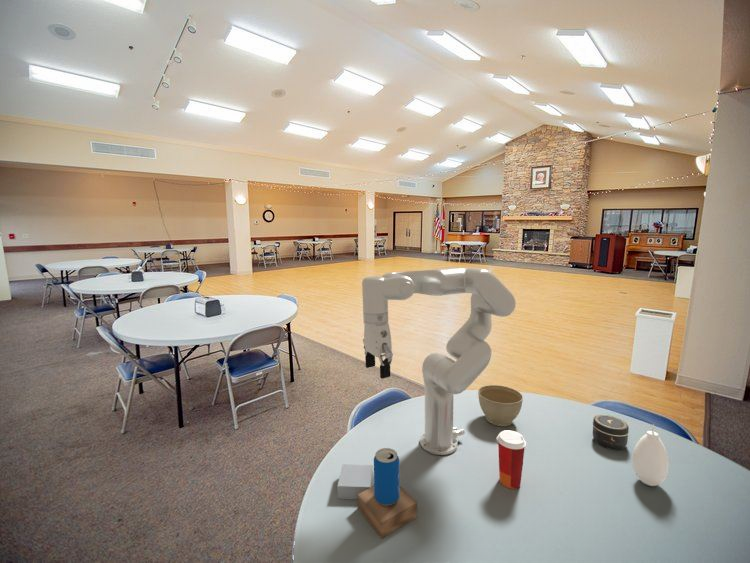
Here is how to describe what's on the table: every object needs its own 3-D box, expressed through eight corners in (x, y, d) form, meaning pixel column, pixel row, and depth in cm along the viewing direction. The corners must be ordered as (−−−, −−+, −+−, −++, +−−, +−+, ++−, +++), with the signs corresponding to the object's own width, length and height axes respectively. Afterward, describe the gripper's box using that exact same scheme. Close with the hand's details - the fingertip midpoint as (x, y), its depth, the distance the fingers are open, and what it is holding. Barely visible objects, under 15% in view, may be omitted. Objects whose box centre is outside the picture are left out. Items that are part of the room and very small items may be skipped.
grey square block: (372, 477, 102) (372, 465, 101) (370, 500, 93) (370, 487, 92) (342, 476, 102) (342, 464, 102) (337, 499, 93) (337, 486, 93)
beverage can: (397, 509, 84) (397, 464, 82) (372, 505, 85) (371, 461, 84) (401, 490, 90) (400, 448, 89) (377, 487, 91) (376, 445, 90)
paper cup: (523, 476, 101) (525, 431, 99) (525, 494, 93) (527, 446, 92) (495, 470, 103) (496, 427, 101) (495, 488, 96) (496, 441, 94)
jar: (595, 447, 114) (596, 426, 113) (589, 432, 123) (590, 412, 122) (631, 454, 110) (633, 432, 109) (622, 437, 119) (623, 417, 118)
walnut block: (391, 490, 96) (391, 477, 95) (417, 516, 87) (417, 502, 86) (357, 508, 90) (357, 494, 89) (381, 538, 80) (381, 522, 80)
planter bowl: (529, 431, 124) (530, 403, 122) (484, 432, 124) (485, 403, 122) (512, 409, 139) (513, 384, 138) (472, 410, 140) (473, 384, 138)
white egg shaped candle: (657, 497, 92) (663, 434, 89) (625, 479, 99) (630, 421, 96) (671, 487, 95) (677, 426, 93) (639, 470, 102) (644, 414, 100)
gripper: (401, 321, 97) (402, 379, 99) (373, 310, 112) (375, 360, 114) (378, 325, 93) (380, 385, 95) (352, 313, 109) (355, 365, 111)
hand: (377, 371), depth 105 cm, fingers open, 9 cm apart
